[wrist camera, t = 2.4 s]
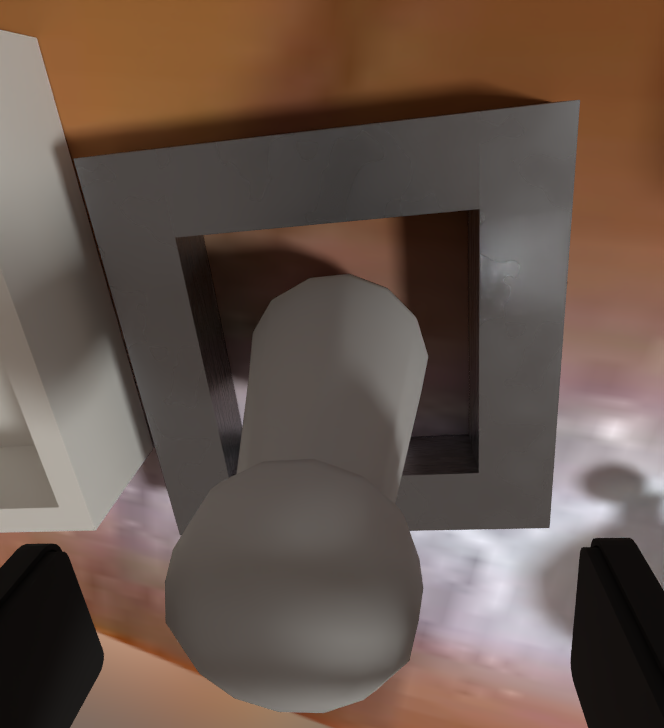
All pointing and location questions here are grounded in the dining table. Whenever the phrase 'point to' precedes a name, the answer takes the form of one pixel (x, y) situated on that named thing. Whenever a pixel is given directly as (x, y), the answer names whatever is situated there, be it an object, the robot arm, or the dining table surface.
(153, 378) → the collar block
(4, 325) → the bin
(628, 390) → the dining table surface
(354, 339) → the salt shaker
